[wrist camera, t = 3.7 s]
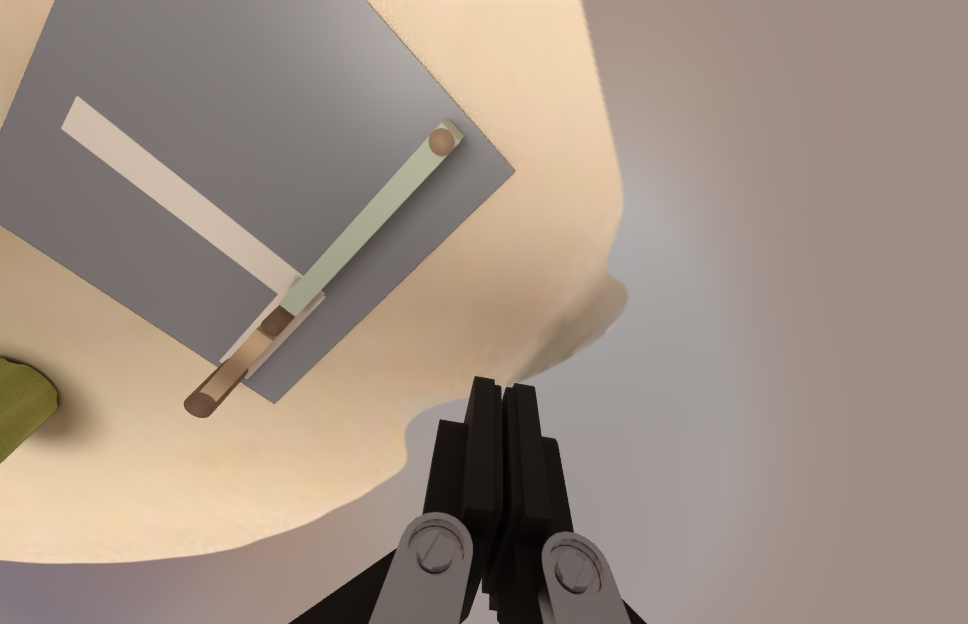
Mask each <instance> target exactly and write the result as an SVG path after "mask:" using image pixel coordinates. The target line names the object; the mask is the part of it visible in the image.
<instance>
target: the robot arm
mask: <svg viewBox="0 0 968 624" xmlns="http://www.w3.org/2000/svg"><path fill="white" fill-rule="evenodd" d="M481 578H482V593H486V594H489V610H494V611H497V621H498V622H499V624H647V623H645V621H643V619H641V617H640V616H639V615H638V614H637V613H636V612H635V611H633V610H632V609H631V607H630V606H629V605H628V604H627V603H625V601H624V600H623V599H622V598H621V596H620V593H619V590H618V588H617V585H616V583H615V580H614V577H613V575H612V572H611V569H610V566H609V564H608V562H607V561H606V559H605V557H604V555H603V553H602V552H601V551H600V550H599V549H598V547H597V546H596V545H595V544H594V543H592V542H591V541H590V540H588V539H587V538H586V537H583V536H581V535H579V534H577V533H574V531H573V525H572V519H571V514H570V508H569V503H568V497H567V491H566V486H565V480H564V475H563V469H562V464H561V458H560V453H559V447H558V443H557V441H556V439H554V438H548V437H542V436H541V429H540V421H539V414H538V406H537V399H536V392H535V387H534V386H529V385H523V384H518V383H514V385H513V388H510V387H506V389H505V392H504V396H503V399H501V386H499V385H495V380H494V379H489V378H484V377H478V376H475V378H474V381H473V385H472V390H471V394H470V398H469V403H468V407H467V412H466V416H465V420H464V423H458V422H452V421H447V420H441V419H440V421H439V426H438V431H437V437H436V442H435V447H434V452H433V457H432V463H431V469H430V474H429V480H428V486H427V491H426V497H425V503H424V508H423V514H422V515H421V516H419V517H417V518H415V519H414V520H413V521H412V522H411V523H410V524H409V525H408V526H407V528H406V529H405V531H404V533H403V535H402V537H401V539H400V542H399V545H398V548H396V549H395V550H393V551H392V552H390V553H389V554H388V555H386V556H385V557H383V558H382V559H380V560H379V561H378V562H376V563H375V564H373V565H372V566H371V567H369V568H368V569H366V570H365V571H363V572H362V573H360V574H359V575H358V576H356V577H355V578H353V579H352V580H351V581H349V582H347V583H346V584H345V585H343V586H342V587H340V588H339V589H338V590H336V591H335V592H334V593H332V594H330V595H329V596H327V597H326V598H325V599H323V600H322V601H320V602H319V603H317V604H316V605H315V606H313V607H312V608H310V609H309V610H307V611H306V612H305V613H303V614H302V615H300V616H299V617H297V618H296V619H294V620H293V621H292V622H290V623H289V624H461V623H462V622H463V621H464V620H465V619H466V618H467V617H468V616H469V613H470V610H471V607H472V604H473V601H474V598H475V595H476V593H477V590H478V587H479V584H480V581H481Z"/></svg>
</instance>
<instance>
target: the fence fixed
mask: <svg viewBox="0 0 968 624" xmlns="http://www.w3.org/2000/svg"><path fill="white" fill-rule="evenodd" d="M294 318H295V316H294V315H292V314H291V313H290V312H288V311H287V310H286V309H284V308H283V307H282V306H280V305H279V306H278V307H277V308H275V309H274V310H273V311H272V312H271V313H270V314H269V315H268V316H267V317H266V318H265V319H264V320H263V321H262V323H261V325H260V326H259V327H258V328H256V330H255V331H254V332H253V333H252V334H251V335H250V336H249V337H248V338H247V340H246V341H245V342H244V343H243V344H242V345H241V346H240V347H239V348H238V350H237V351H236V352H235V353H234V354H233V355H232V356H231V357H230V358H229V359H227V360H225V361H224V362H223V363H222V364H221V365H220V366H219V367H218V368H217V369H216V370H215V371H214V372H213V373H212V374H211V375H210V376H209V377H208V378H207V379H206V380H205V381H204V382H203V383H202V384H201V385H200V386H199V387H198V388H197V389H196V390H195V391H194V392H193V393H192V394H191V395H190V396H189V397H188V398H187V399H186V400H185V401H184V407H185V409H186V410H187V411H188V412H189V413H190V414H191V415H193V416H196V417H199V418H206V417H209V416H210V415H211V414H212V413H213V412H214V410H215V409H216V408H217V407H218V406H219V405H220V404H221V403H222V401H223V400H224V399H225V398H226V397H227V396H228V395H229V394H230V392H231V391H232V390H233V389H234V388H235V387H236V386H237V385H238V383H239V382H240V381H241V380H242V379H243V378H244V377H245V376H246V374H247V373H248V367H249V366H250V365H251V364H252V363H253V362H254V361H255V360H256V359H257V358H258V357H259V356H260V355H261V354H262V353H263V351H264V350H265V349H266V348H267V347H268V346H269V345H270V344H271V343H272V342H273V341H274V340H275V339H276V337H277V336H278V335H279V334H280V333H281V332H282V331H283V330H284V329H285V328H286V327H287V326H288V325H289V323H290V322H291V321H292V320H293V319H294Z"/></svg>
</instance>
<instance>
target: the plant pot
mask: <svg viewBox="0 0 968 624" xmlns="http://www.w3.org/2000/svg"><path fill="white" fill-rule="evenodd" d="M57 394H58V393H57V391H56V389H55V388H54V386H53V385H52V384H51V383H50V382H49V381H48V380H47V379H46V378H45V377H44V376H43V375H41V374H40V373H39V372H37V371H36V370H34V369H33V368H31V367H29V366H27V365H23V364H15V363H11V362H8V361H6V360H5V358H0V464H1V463H2V462H3V461H4V460H5V459H6V458H7V457H8V456H9V455H10V454H11V453H12V452H13V451H14V450H15V449H16V448H17V447H18V446H19V445H20V444H21V443H22V442H23V441H25V440H26V439H27V438H28V437H29V436H30V435H31V434H32V433H33V432H34V431H35V430H36V429H37V428H39V427H40V426H41V425H42V424H43V423H44V422H45V421H46V420H47V419H48V418H49V417H50V416H51V415H52V414H53V413H54V412H55V411H56V410H57V409H58V405H57Z"/></svg>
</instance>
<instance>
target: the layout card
mask: <svg viewBox="0 0 968 624" xmlns="http://www.w3.org/2000/svg"><path fill="white" fill-rule="evenodd" d="M447 119H449V120H450V121H451V122H452V123H453V124H454V125H455V126H456V127H457V128H458V130H459V131H460V132H461V133H462V134H463V135H464V137H463V138H462V140H461V141H460V142H459V144H458V145H457V146H456V147H455V148H454V149H453V150H452V151H451V152H450V153H449V154H448V155H447V156H446V157H445V158H444V160H443V161H442V162H441V163H440V164H439V165H438V166H437V167H436V168H435V169H434V170H433V171H432V172H431V173H430V174H429V175H428V177H427V178H426V179H425V180H424V181H423V182H422V183H421V184H420V185H419V186H418V187H417V188H416V189H415V190H414V191H413V193H412V194H411V195H410V196H409V197H408V198H407V199H406V200H405V201H404V202H403V203H402V204H401V205H400V206H399V207H398V209H397V210H396V211H395V212H394V213H393V214H392V215H391V216H390V217H389V218H388V219H387V220H386V221H385V222H384V223H383V225H382V226H381V227H380V228H379V229H378V230H377V231H376V232H375V233H374V234H373V235H372V236H371V237H370V238H369V239H368V241H367V242H366V243H365V244H364V245H363V246H362V247H361V248H360V249H359V250H358V251H357V252H356V253H355V254H354V255H353V257H352V258H351V259H350V260H349V261H348V262H347V263H346V264H345V265H344V266H343V267H342V268H341V269H340V270H339V271H338V273H337V274H336V275H335V276H334V277H333V278H332V279H331V280H330V281H329V282H328V283H327V284H326V285H325V286H324V287H323V289H322V290H321V291H320V292H319V293H318V294H317V295H316V296H315V297H314V298H313V299H312V300H311V301H310V302H309V303H308V305H307V306H306V307H305V308H304V309H303V310H302V311H301V312H300V313H299V314H298V315H297V316H296V317H295V318H294V319H293V320H292V321H291V322H290V323H289V325H288V326H287V327H286V328H285V329H284V330H283V331H282V332H281V333H280V334H279V335H278V336H277V337H276V339H275V340H274V341H273V342H272V343H271V344H270V345H269V346H268V347H267V348H266V349H265V350H264V351H263V353H262V354H261V355H260V356H259V357H258V358H257V359H256V360H255V361H254V362H253V363H252V364H251V365H250V366H249V367H248V373H247V374H246V376H245V377H244V378H243V379H242V380H241V381H240V382H241V383H243V384H244V385H246V386H247V387H249V388H250V389H252V390H254V391H255V392H257V393H258V394H260V395H261V396H263V397H264V398H266V399H267V400H269V401H270V402H272V403H273V404H275V403H276V402H277V401H278V400H279V399H280V398H281V397H282V396H283V395H284V394H285V393H286V392H287V391H288V390H289V389H290V388H291V387H292V386H293V385H294V384H295V383H296V382H297V381H298V380H299V379H300V378H301V377H303V376H304V375H305V374H306V373H307V372H308V371H309V370H310V369H311V368H312V367H313V366H314V365H315V364H316V363H317V362H318V361H319V360H320V359H321V358H322V357H323V356H324V355H325V354H326V353H327V352H328V351H329V350H330V349H331V348H332V347H334V346H335V345H336V344H337V343H338V342H339V341H340V340H341V339H342V338H343V337H344V336H345V335H346V334H347V333H348V332H349V331H350V330H351V329H352V328H353V327H354V326H355V325H356V324H357V323H358V322H359V321H360V320H361V319H362V318H363V317H365V316H366V315H367V314H368V313H369V312H370V311H371V310H372V309H373V308H374V307H375V306H376V305H377V304H378V303H379V302H380V301H381V300H382V299H383V298H384V297H385V296H386V295H387V294H388V293H389V292H390V291H391V290H392V289H393V288H394V287H396V286H397V285H398V284H399V283H400V282H401V281H402V280H403V279H404V278H405V277H406V276H407V275H408V274H409V273H410V272H411V271H412V270H413V269H414V268H415V267H416V266H417V265H418V264H419V263H420V262H421V261H422V260H423V259H424V258H426V257H427V256H428V255H429V254H430V253H431V252H432V251H433V250H434V249H435V248H436V247H437V246H438V245H439V244H440V243H441V242H442V241H443V240H444V239H445V238H446V237H447V236H448V235H449V234H450V233H451V232H452V231H453V230H454V229H455V228H457V227H458V226H459V225H460V224H461V223H462V222H463V221H464V220H465V219H466V218H467V217H468V216H469V215H470V214H471V213H472V212H473V211H474V210H475V209H476V208H477V207H478V206H479V205H480V204H481V203H482V202H483V201H484V200H485V199H486V198H488V197H489V196H490V195H491V194H492V193H493V192H494V191H495V190H496V189H497V188H498V187H499V186H500V185H501V184H502V183H503V182H504V181H505V180H506V179H507V178H508V177H509V176H510V175H511V174H512V173H513V172H514V171H515V170H514V169H513V167H512V166H511V165H510V164H509V163H508V162H507V161H506V159H505V158H504V157H503V156H502V155H501V154H500V153H499V151H498V150H497V149H496V148H495V147H494V146H493V145H492V143H491V142H490V141H489V140H488V139H487V138H486V137H485V135H484V134H483V133H482V132H481V131H480V130H479V129H478V128H477V126H476V125H475V124H474V123H473V122H472V121H471V120H470V118H469V117H468V116H467V115H466V114H465V113H464V112H463V110H462V109H461V108H460V107H459V106H458V105H457V104H456V102H455V101H454V100H453V99H452V98H451V97H450V96H449V94H448V93H447V92H446V91H445V90H444V89H443V88H442V87H441V85H440V84H439V83H438V82H437V81H436V80H435V79H434V77H433V76H432V75H431V74H430V73H429V72H428V71H427V69H426V68H425V67H424V66H423V65H422V64H421V63H420V61H419V60H418V59H417V58H416V57H415V56H414V55H413V53H412V52H411V51H410V50H409V49H408V48H407V47H406V46H405V44H404V43H403V42H402V41H401V40H400V39H399V38H398V36H397V35H396V34H395V33H394V32H393V31H392V30H391V28H390V27H389V26H388V25H387V24H386V23H385V22H384V20H383V19H382V18H381V17H380V16H379V15H378V14H377V12H376V11H375V10H374V9H373V8H372V7H371V6H370V5H369V3H368V2H367V1H366V0H55V1H54V4H53V6H52V8H51V11H50V13H49V16H48V18H47V20H46V23H45V25H44V28H43V30H42V32H41V35H40V37H39V40H38V42H37V44H36V47H35V49H34V52H33V54H32V56H31V59H30V61H29V64H28V66H27V68H26V71H25V73H24V76H23V78H22V80H21V83H20V85H19V88H18V90H17V93H16V95H15V97H14V100H13V102H12V105H11V107H10V109H9V112H8V114H7V117H6V119H5V121H4V124H3V126H2V129H1V131H0V225H1V226H3V227H4V228H6V229H7V230H9V231H11V232H12V233H14V234H15V235H17V236H18V237H20V238H21V239H23V240H24V241H26V242H27V243H29V244H30V245H32V246H33V247H35V248H37V249H38V250H40V251H41V252H43V253H44V254H46V255H47V256H49V257H50V258H52V259H53V260H55V261H56V262H58V263H59V264H61V265H63V266H64V267H66V268H67V269H69V270H70V271H72V272H73V273H75V274H76V275H78V276H79V277H81V278H82V279H84V280H85V281H87V282H88V283H90V284H92V285H93V286H95V287H96V288H98V289H99V290H101V291H102V292H104V293H105V294H107V295H108V296H110V297H111V298H113V299H114V300H116V301H118V302H119V303H121V304H122V305H124V306H125V307H127V308H128V309H130V310H131V311H133V312H134V313H136V314H137V315H139V316H140V317H142V318H143V319H145V320H147V321H148V322H150V323H151V324H153V325H154V326H156V327H157V328H159V329H160V330H162V331H163V332H165V333H166V334H168V335H169V336H171V337H173V338H174V339H176V340H177V341H179V342H180V343H182V344H183V345H185V346H186V347H188V348H189V349H191V350H192V351H194V352H195V353H197V354H199V355H200V356H202V357H203V358H205V359H206V360H208V361H209V362H211V363H212V364H214V365H215V366H217V367H219V366H220V365H221V364H222V363H223V362H224V361H225V360H227V359H229V358H230V357H231V356H232V355H233V354H234V353H235V352H236V351H237V350H238V348H239V347H240V346H241V345H242V344H243V343H244V342H245V341H246V340H247V338H248V337H249V336H250V335H251V334H252V333H253V332H254V331H255V330H256V328H258V327H259V326H260V325H261V323H262V321H263V320H264V319H265V318H266V317H267V316H268V315H269V314H270V313H271V312H272V311H273V310H274V309H275V308H277V307H278V306H279V303H280V302H281V301H282V300H283V298H284V297H285V296H286V295H287V294H288V293H289V292H290V291H291V290H292V288H293V287H294V286H295V285H296V284H297V283H298V282H299V281H300V279H301V278H302V277H303V276H304V275H305V274H306V273H307V272H308V271H309V269H310V268H311V267H312V266H313V265H314V264H315V263H316V262H317V261H318V259H319V258H320V257H321V256H322V255H323V254H324V253H325V252H326V251H327V249H328V248H329V247H330V246H331V245H332V244H333V243H334V242H335V240H336V239H337V238H338V237H339V236H340V235H341V234H342V233H343V232H344V230H345V229H346V228H347V227H348V226H349V225H350V224H351V223H352V222H353V220H354V219H355V218H356V217H357V216H358V215H359V214H360V213H361V212H362V210H363V209H364V208H365V207H366V206H367V205H368V204H369V203H370V201H371V200H372V199H373V198H374V197H375V196H376V195H377V194H378V193H379V191H380V190H381V189H382V188H383V187H384V186H385V185H386V184H387V183H388V181H389V180H390V179H391V178H392V177H393V176H394V175H395V174H396V173H397V171H398V170H399V169H400V168H401V167H402V166H403V165H404V164H405V162H406V161H407V160H408V159H409V158H410V157H411V156H412V155H413V154H414V152H415V151H416V150H417V149H418V148H419V147H420V146H421V145H422V144H423V142H424V141H425V140H426V139H427V138H428V137H429V136H430V134H431V133H432V132H433V131H434V130H435V129H436V128H437V127H438V126H439V125H440V123H441V122H443V121H445V120H447Z"/></svg>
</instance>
